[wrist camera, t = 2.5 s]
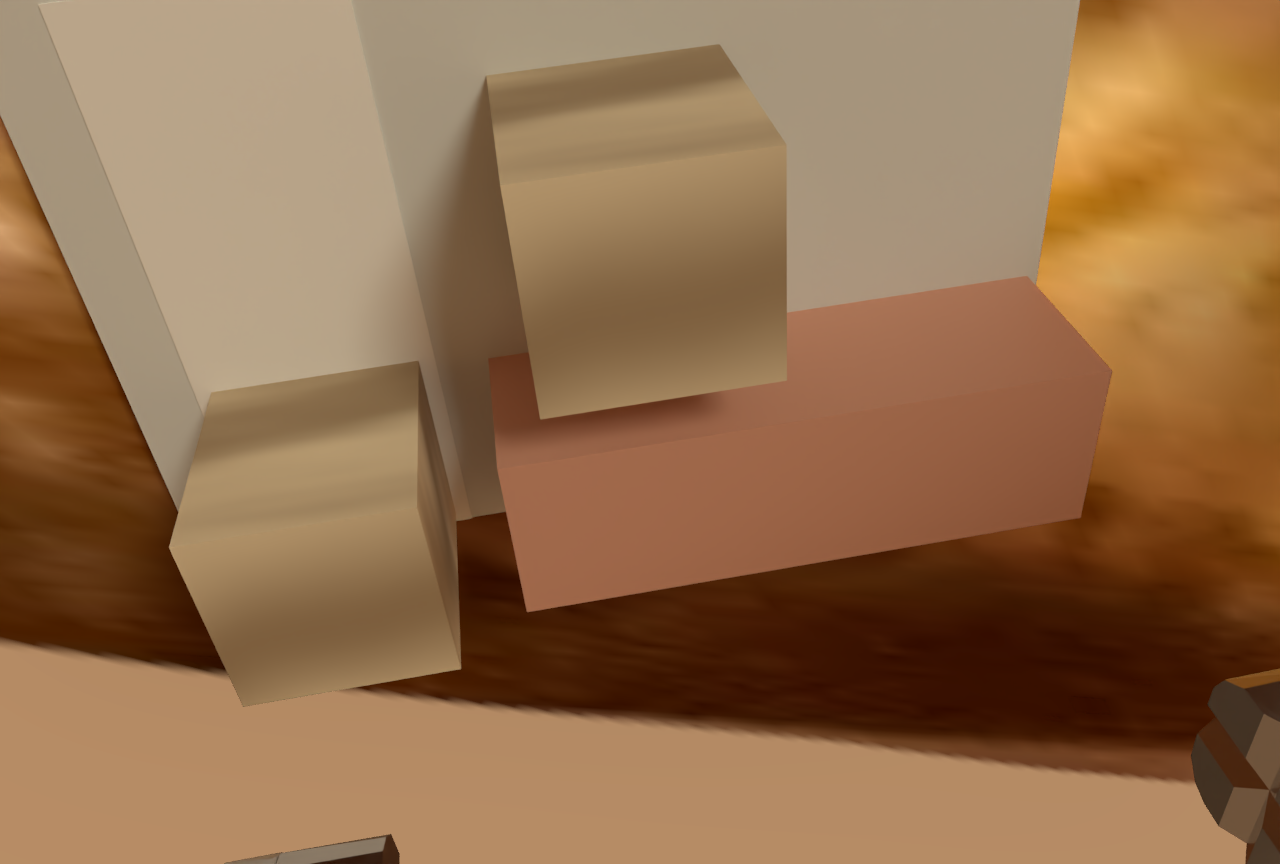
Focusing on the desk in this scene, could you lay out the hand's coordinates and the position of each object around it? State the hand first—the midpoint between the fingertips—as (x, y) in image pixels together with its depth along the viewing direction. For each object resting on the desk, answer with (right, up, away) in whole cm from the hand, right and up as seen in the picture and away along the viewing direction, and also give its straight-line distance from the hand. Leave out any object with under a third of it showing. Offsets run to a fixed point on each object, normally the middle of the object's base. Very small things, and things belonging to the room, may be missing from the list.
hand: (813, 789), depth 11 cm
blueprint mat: (-3, +8, +13) cm, 15 cm away
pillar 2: (-2, +9, +12) cm, 15 cm away
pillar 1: (-9, +3, +15) cm, 17 cm away
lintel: (+1, +5, +15) cm, 16 cm away
